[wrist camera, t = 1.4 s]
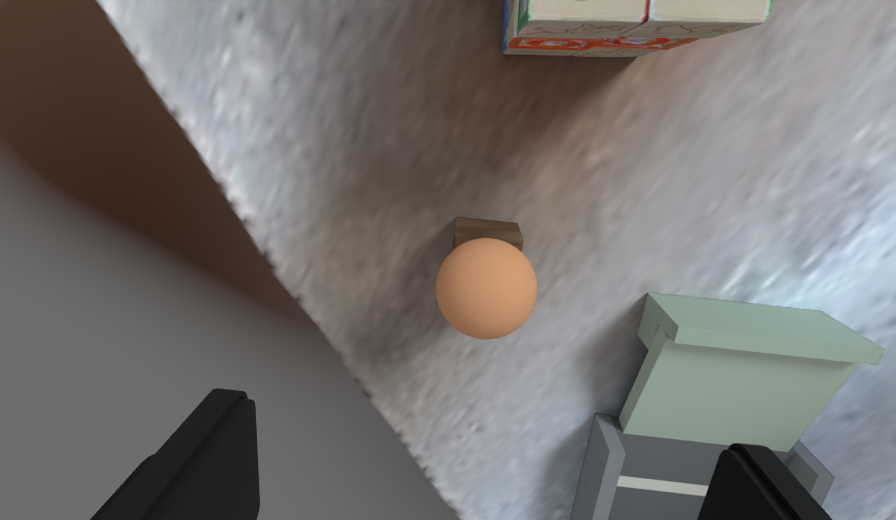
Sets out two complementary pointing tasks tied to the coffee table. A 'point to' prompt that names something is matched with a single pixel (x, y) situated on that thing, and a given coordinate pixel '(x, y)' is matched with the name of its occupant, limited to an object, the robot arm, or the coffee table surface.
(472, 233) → the brown wooden block
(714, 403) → the ramp
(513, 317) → the ball
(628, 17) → the stack of blocks
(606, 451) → the lane
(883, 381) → the coffee table surface
